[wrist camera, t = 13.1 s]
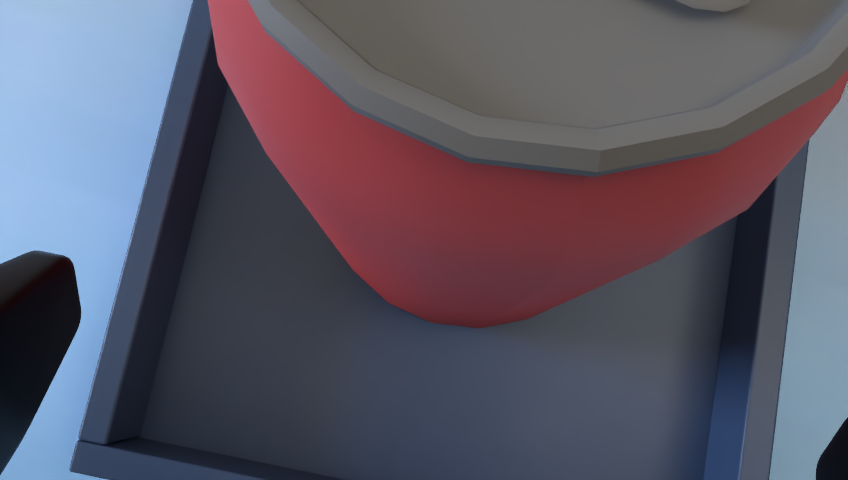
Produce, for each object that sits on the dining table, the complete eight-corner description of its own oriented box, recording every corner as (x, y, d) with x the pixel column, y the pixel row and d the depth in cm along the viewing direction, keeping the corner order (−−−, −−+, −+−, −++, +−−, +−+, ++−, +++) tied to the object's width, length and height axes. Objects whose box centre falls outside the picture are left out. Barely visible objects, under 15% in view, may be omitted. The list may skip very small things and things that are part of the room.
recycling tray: (710, 580, 16) (754, 613, 14) (114, 457, 17) (67, 471, 15) (792, -62, 19) (840, -117, 17) (269, -155, 19) (249, -222, 17)
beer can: (446, 391, 17) (505, 458, 5) (267, 160, 17) (-66, -279, 6) (675, 208, 17) (1231, -139, 5) (491, -6, 18) (622, -716, 6)
